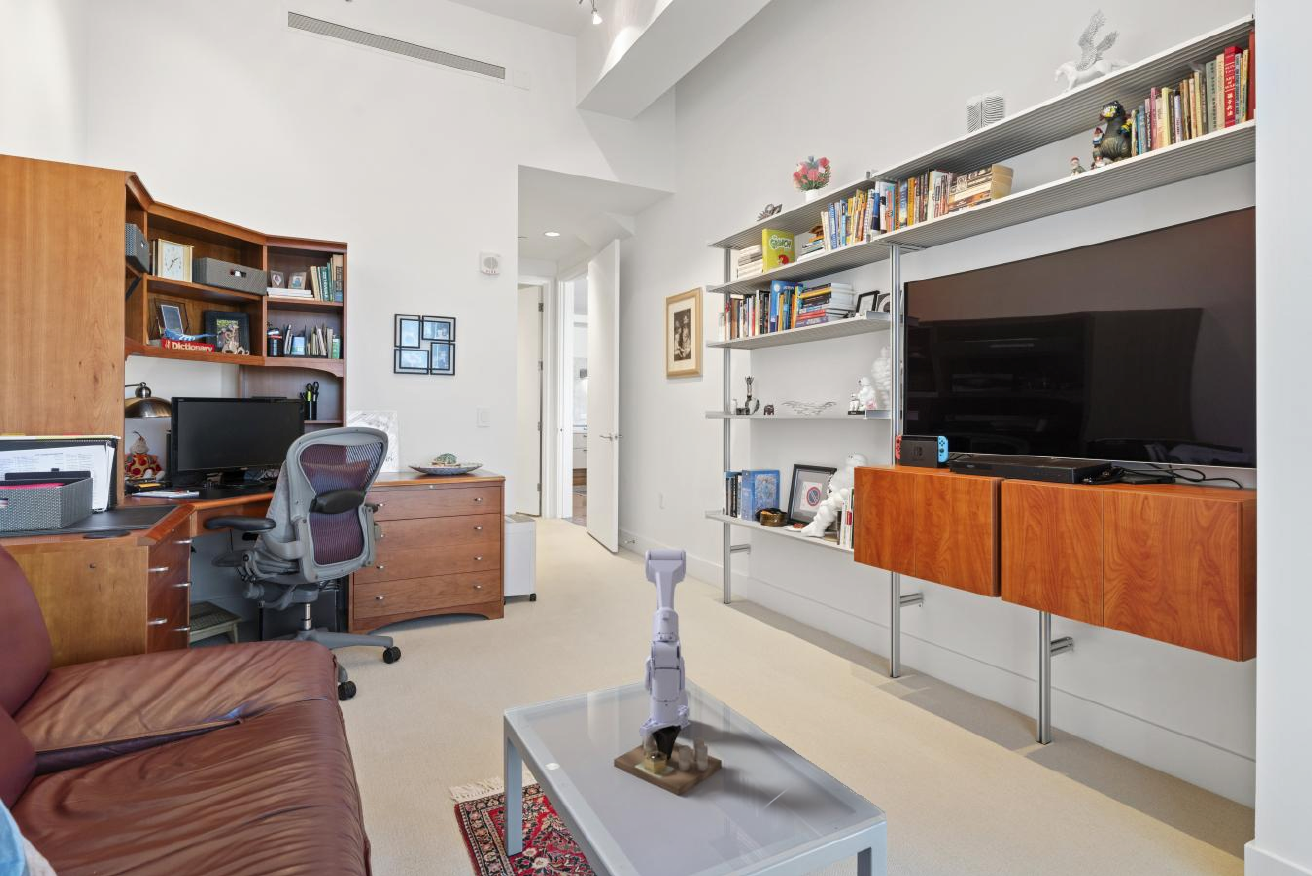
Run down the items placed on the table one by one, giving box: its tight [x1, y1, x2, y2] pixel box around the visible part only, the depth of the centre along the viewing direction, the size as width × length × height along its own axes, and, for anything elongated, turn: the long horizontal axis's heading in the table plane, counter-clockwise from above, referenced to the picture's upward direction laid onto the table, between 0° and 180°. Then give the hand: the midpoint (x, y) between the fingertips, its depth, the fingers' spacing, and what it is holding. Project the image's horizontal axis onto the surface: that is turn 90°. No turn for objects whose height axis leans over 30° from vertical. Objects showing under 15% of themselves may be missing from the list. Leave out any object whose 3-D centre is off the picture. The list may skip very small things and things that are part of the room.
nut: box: [645, 751, 667, 774], centre depth 149 cm, size 4×5×2 cm
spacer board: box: [613, 734, 723, 796], centre depth 152 cm, size 15×18×6 cm
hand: (665, 758), depth 151 cm, fingers closed
